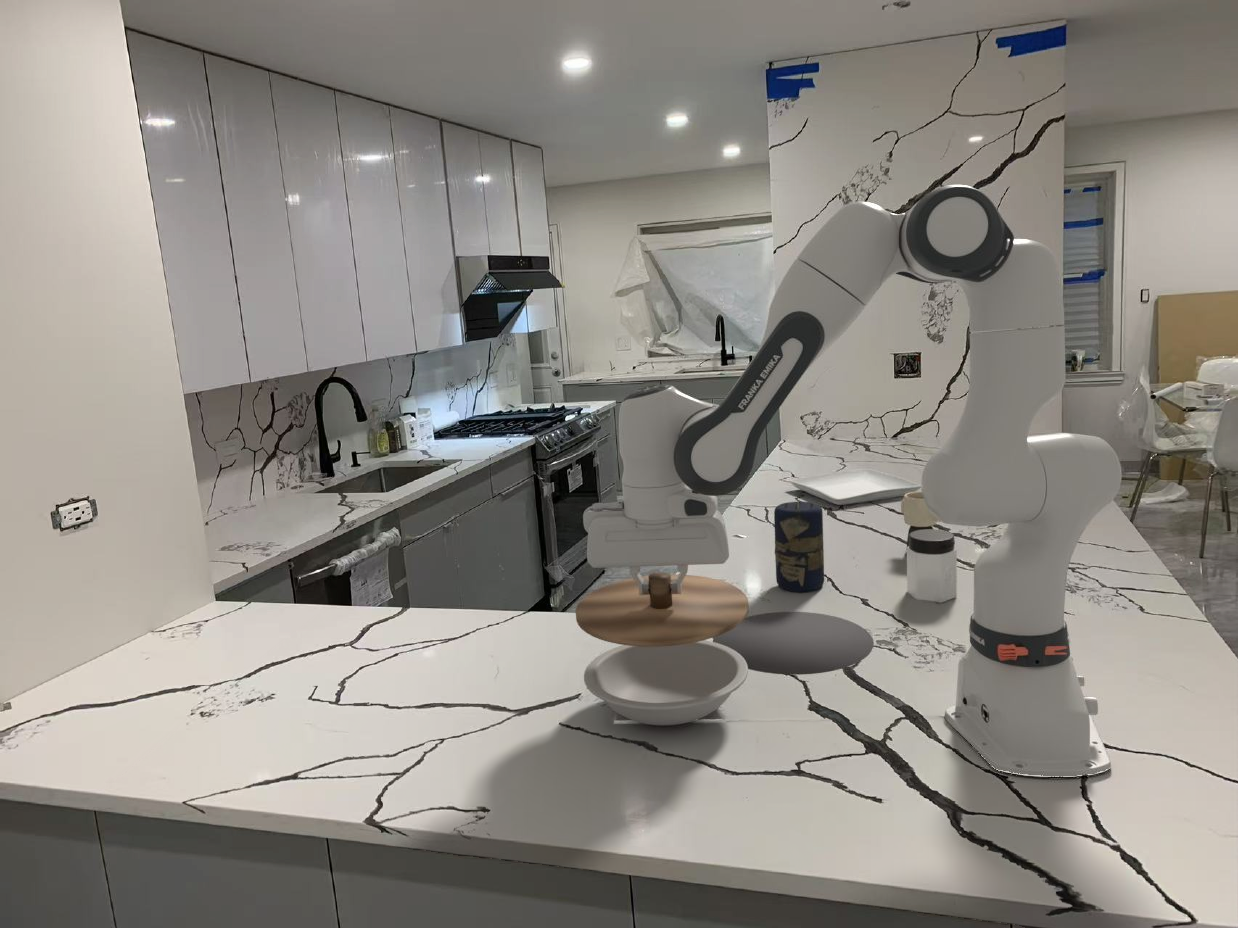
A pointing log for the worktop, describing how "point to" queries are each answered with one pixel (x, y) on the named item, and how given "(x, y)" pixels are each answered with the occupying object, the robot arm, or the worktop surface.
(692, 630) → the lid
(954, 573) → the jar
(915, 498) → the character mug
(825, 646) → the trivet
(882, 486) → the square plate
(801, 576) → the canister
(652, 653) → the soup bowl
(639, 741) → the worktop surface
